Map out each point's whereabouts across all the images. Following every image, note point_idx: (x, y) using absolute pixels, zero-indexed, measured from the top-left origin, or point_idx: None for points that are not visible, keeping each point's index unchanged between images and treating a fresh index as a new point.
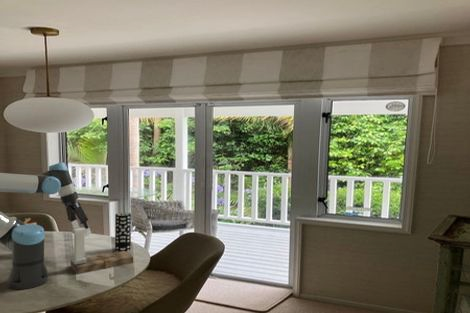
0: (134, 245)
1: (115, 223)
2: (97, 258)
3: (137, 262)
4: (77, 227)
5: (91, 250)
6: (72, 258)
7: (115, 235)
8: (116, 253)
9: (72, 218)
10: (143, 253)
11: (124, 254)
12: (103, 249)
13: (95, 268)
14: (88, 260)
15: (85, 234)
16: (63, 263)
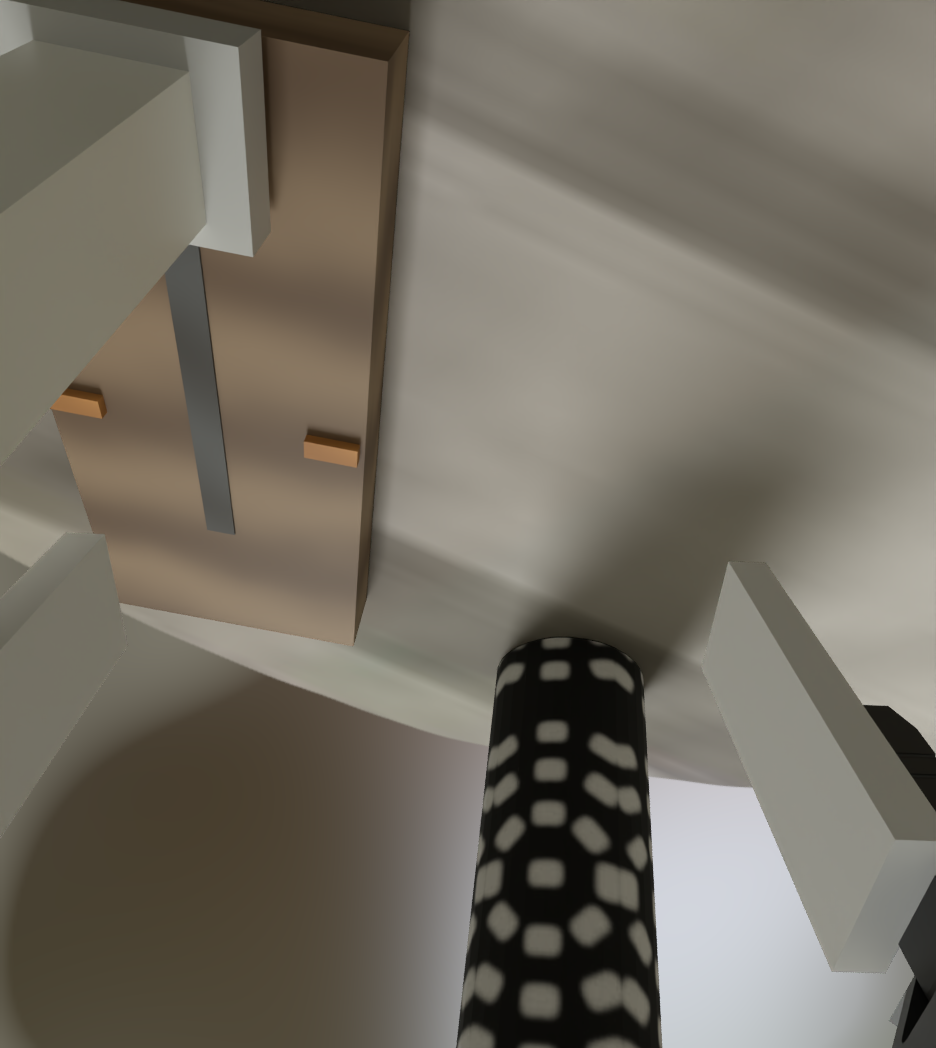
0: None
1: (598, 963)
2: (241, 388)
3: None
4: (753, 722)
5: (849, 544)
6: (191, 36)
7: (594, 797)
8: (313, 580)
9: (923, 1023)
10: (346, 695)
11: (233, 599)
12: None
13: None
14: (215, 271)
15: (43, 555)
16: (675, 8)
